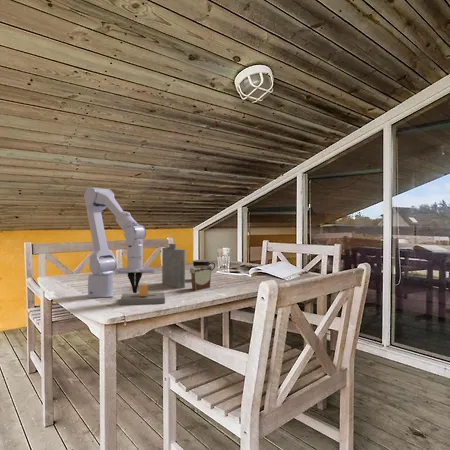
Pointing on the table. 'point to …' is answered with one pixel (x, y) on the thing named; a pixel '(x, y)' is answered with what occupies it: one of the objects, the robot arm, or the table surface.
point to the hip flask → (173, 266)
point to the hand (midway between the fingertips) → (134, 292)
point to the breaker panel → (142, 299)
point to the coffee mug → (202, 263)
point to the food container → (200, 277)
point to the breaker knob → (143, 288)
